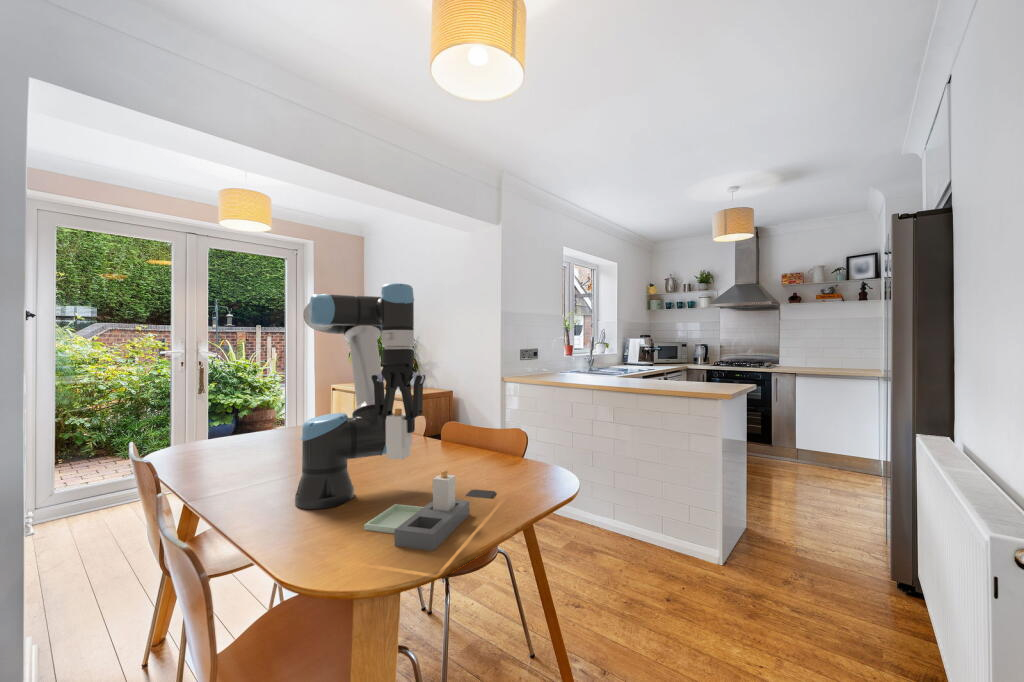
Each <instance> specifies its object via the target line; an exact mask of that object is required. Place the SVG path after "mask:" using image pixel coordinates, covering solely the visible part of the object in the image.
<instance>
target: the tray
mask: <svg viewBox="0 0 1024 682" xmlns="http://www.w3.org/2000/svg"><path fill="white" fill-rule="evenodd" d="M423 507H424V506H417V505H408V504H398V503H395V504H393V505H392V506H390V507H389V508H387V509H386V510H384V511H382V512H380V513H379V514H378V515H376V516H375V517H373V518H372V519H370V520H369V521H367V522H366V523H364V524H363V525H364V530H365V531H372V532H380V533H389V534H394V535H395V529H396V528H397V527H399V526H400V525H401V524H403V523H404V522H405V521H406V520H408V519H409V518H410V517H412V516H413V515H414V514H416V513H417V512H418V511H419V510H421V509H422V508H423Z"/></svg>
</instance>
